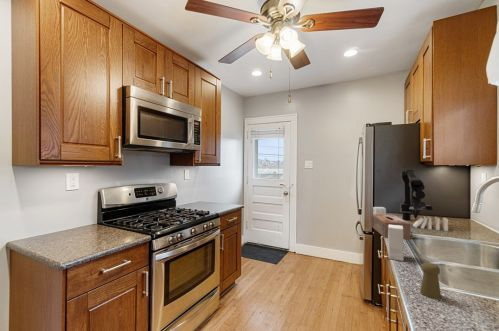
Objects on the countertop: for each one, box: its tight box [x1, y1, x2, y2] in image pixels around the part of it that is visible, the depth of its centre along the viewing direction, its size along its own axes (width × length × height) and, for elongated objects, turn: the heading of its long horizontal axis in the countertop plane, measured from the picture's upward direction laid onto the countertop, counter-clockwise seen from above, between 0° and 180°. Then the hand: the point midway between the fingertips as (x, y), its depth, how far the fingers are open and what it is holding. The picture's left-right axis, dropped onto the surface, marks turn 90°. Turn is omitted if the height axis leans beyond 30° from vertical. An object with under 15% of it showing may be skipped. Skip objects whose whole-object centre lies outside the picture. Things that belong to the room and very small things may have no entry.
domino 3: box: [434, 216, 441, 230], centre depth 166 cm, size 2×5×8 cm, turn 155°
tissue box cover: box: [371, 213, 411, 240], centre depth 161 cm, size 26×14×10 cm, turn 169°
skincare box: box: [387, 224, 405, 262], centre depth 119 cm, size 8×7×16 cm
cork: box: [419, 262, 442, 300], centre depth 85 cm, size 6×6×11 cm
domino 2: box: [426, 216, 433, 229], centre depth 168 cm, size 2×5×8 cm, turn 155°
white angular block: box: [412, 216, 424, 228], centre depth 170 cm, size 2×5×8 cm
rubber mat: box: [410, 224, 451, 233], centre depth 169 cm, size 10×26×1 cm, turn 65°
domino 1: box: [419, 215, 428, 229], centre depth 169 cm, size 2×5×8 cm, turn 155°
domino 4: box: [442, 217, 449, 231], centre depth 164 cm, size 2×5×8 cm, turn 155°
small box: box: [372, 206, 387, 214], centre depth 195 cm, size 8×6×10 cm
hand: (415, 218), depth 171 cm, fingers closed
